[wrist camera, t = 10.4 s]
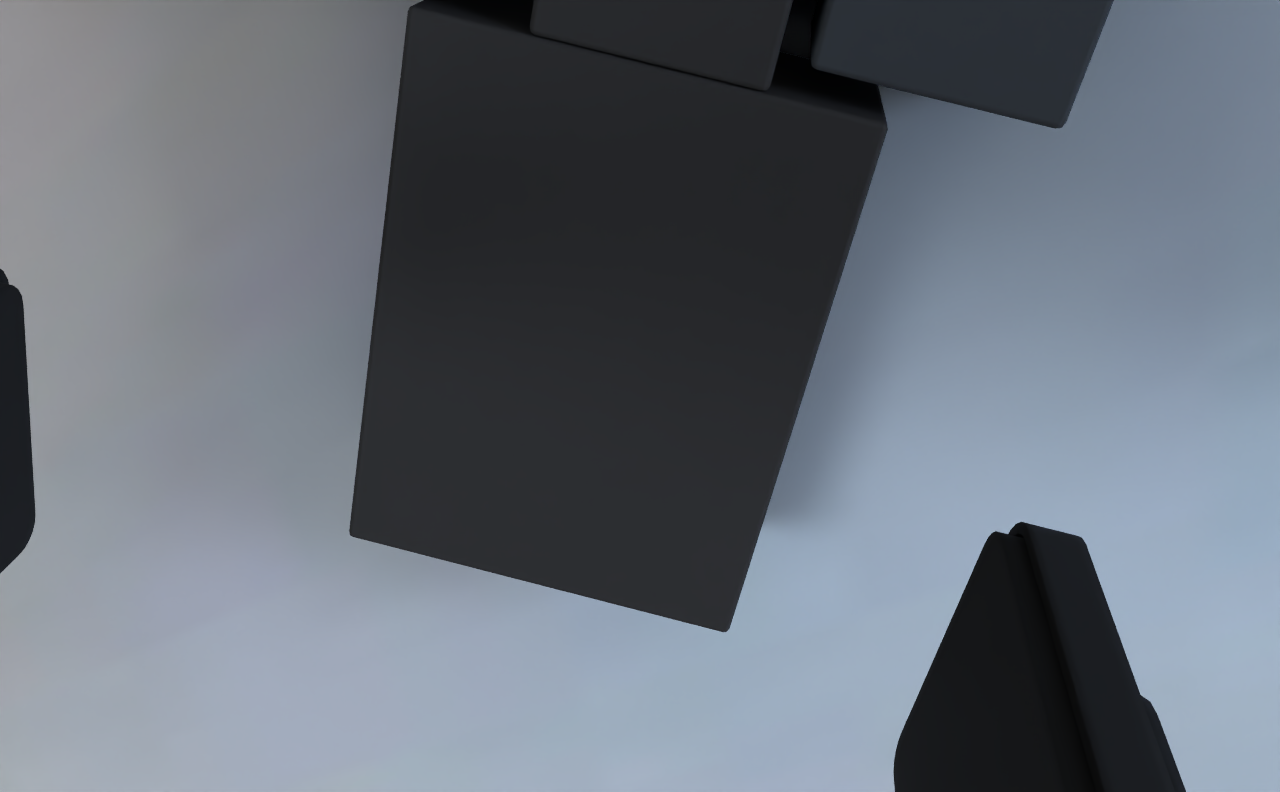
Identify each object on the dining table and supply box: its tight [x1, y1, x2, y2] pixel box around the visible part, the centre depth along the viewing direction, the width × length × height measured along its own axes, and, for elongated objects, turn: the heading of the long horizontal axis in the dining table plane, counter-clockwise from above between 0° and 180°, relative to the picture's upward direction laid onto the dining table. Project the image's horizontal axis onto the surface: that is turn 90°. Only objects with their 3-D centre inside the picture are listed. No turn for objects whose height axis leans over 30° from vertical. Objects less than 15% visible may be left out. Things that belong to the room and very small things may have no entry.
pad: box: [349, 0, 888, 632], centre depth 16 cm, size 11×6×3 cm, turn 168°
